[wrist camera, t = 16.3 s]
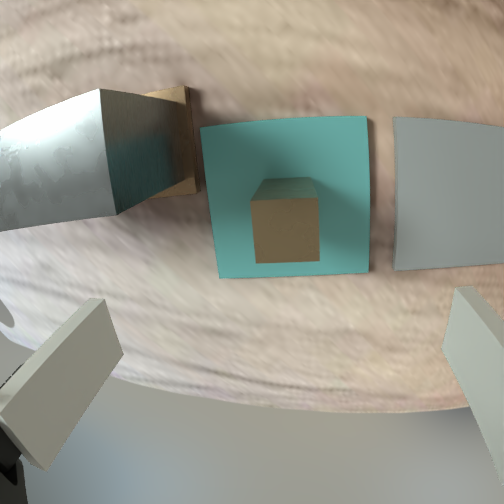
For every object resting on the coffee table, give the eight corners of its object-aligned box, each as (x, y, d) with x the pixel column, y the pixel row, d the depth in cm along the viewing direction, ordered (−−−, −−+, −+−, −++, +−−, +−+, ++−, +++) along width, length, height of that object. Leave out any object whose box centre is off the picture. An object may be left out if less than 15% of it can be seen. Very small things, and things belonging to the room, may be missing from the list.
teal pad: (221, 274, 36) (219, 278, 35) (202, 127, 30) (199, 127, 29) (366, 268, 34) (368, 272, 33) (364, 116, 28) (366, 116, 27)
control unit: (68, 208, 35) (-19, 250, 22) (55, 123, 32) (-40, 136, 18) (200, 190, 33) (134, 237, 19) (188, 87, 29) (111, 61, 15)
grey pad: (392, 267, 33) (394, 271, 32) (392, 117, 27) (395, 116, 27) (503, 259, 31) (507, 262, 30) (512, 129, 25) (517, 129, 24)
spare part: (267, 223, 32) (255, 263, 23) (263, 179, 31) (249, 200, 21) (312, 222, 31) (319, 261, 22) (310, 176, 30) (318, 197, 21)
